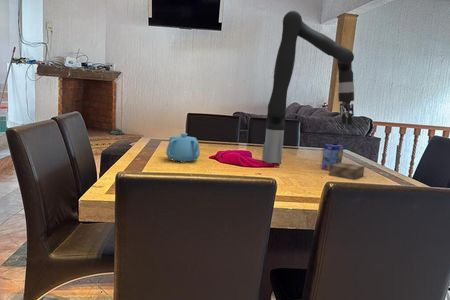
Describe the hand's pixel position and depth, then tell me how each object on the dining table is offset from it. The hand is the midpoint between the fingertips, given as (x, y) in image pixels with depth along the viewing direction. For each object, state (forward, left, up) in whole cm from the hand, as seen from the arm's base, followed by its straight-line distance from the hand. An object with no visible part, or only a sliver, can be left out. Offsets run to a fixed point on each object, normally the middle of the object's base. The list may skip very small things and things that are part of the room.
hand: (346, 124), depth 194 cm
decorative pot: (-62, -52, -23) cm, 84 cm away
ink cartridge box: (-3, -7, -23) cm, 24 cm away
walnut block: (+8, -17, -23) cm, 29 cm away
